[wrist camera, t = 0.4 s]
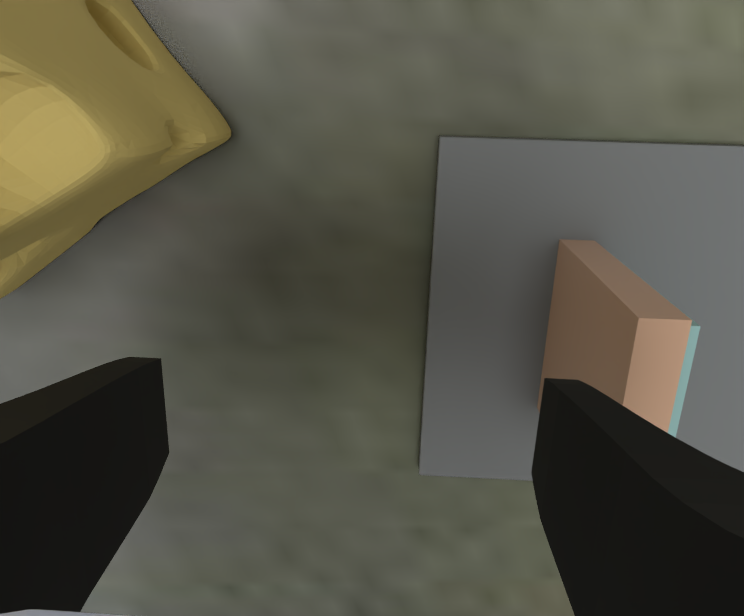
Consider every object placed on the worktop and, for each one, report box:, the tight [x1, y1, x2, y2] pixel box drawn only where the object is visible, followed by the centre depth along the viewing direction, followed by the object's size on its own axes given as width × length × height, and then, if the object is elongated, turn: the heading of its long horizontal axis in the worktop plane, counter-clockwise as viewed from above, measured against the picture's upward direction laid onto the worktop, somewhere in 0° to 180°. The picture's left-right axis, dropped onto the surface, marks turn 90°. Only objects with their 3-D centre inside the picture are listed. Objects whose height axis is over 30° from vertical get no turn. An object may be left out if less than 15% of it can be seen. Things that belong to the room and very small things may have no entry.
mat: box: [419, 135, 744, 481], centre depth 21 cm, size 12×13×1 cm
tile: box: [537, 239, 700, 438], centre depth 17 cm, size 6×1×7 cm, turn 178°
